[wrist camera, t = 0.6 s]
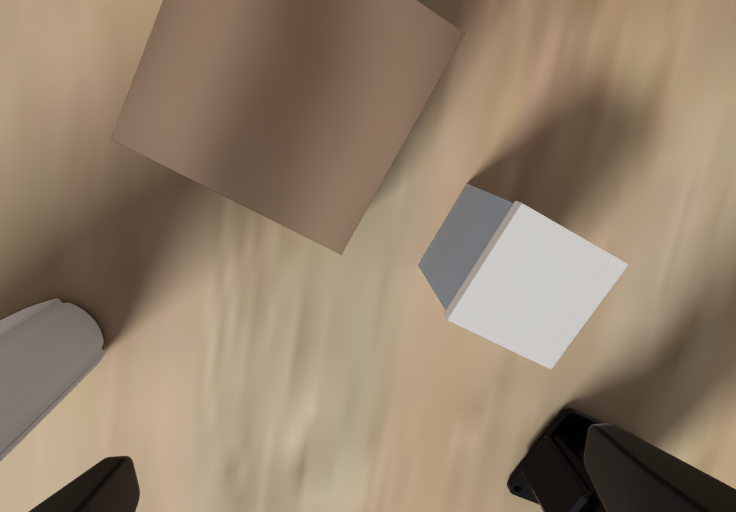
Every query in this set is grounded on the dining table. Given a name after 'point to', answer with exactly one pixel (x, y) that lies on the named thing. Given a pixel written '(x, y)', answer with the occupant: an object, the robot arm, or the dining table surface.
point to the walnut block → (286, 101)
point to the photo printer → (42, 364)
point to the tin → (516, 275)
